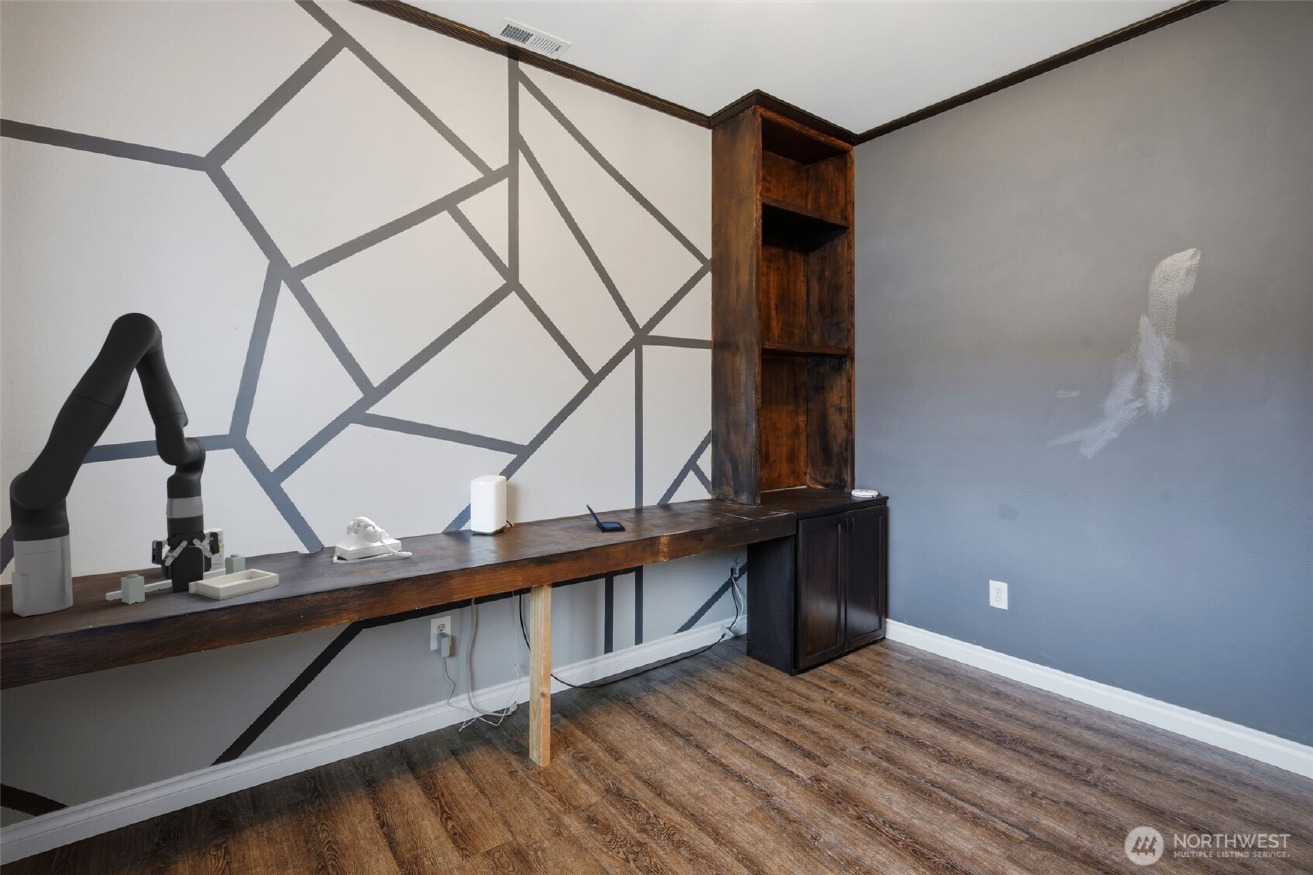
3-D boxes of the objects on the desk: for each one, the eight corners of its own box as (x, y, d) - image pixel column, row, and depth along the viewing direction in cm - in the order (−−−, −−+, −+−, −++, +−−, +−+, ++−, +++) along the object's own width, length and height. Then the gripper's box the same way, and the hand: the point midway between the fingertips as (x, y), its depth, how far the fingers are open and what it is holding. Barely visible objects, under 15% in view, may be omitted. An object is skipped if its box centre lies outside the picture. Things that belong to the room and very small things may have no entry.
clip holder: (130, 607, 141) (129, 580, 141) (105, 599, 148) (104, 573, 147) (255, 578, 166) (254, 554, 166) (230, 572, 172) (229, 549, 172)
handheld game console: (625, 532, 230) (625, 508, 229) (591, 534, 226) (591, 509, 226) (618, 524, 245) (618, 502, 244) (586, 526, 242) (585, 503, 241)
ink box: (189, 574, 170) (187, 533, 169) (185, 571, 173) (184, 531, 173) (225, 568, 176) (224, 529, 176) (221, 565, 180) (220, 527, 179)
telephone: (416, 557, 191) (415, 518, 190) (347, 570, 175) (346, 528, 175) (383, 545, 207) (382, 510, 207) (317, 556, 192) (316, 518, 192)
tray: (220, 600, 147) (220, 588, 147) (195, 593, 152) (195, 581, 152) (278, 585, 159) (278, 574, 159) (253, 579, 165) (253, 568, 165)
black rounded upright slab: (205, 584, 160) (203, 542, 159) (204, 588, 157) (203, 545, 156) (171, 589, 156) (170, 546, 155) (170, 593, 153) (168, 549, 152)
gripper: (159, 519, 147) (162, 584, 148) (223, 511, 160) (225, 570, 161) (144, 517, 151) (147, 580, 151) (208, 508, 163) (210, 567, 164)
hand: (187, 575), depth 156 cm, fingers open, 8 cm apart
